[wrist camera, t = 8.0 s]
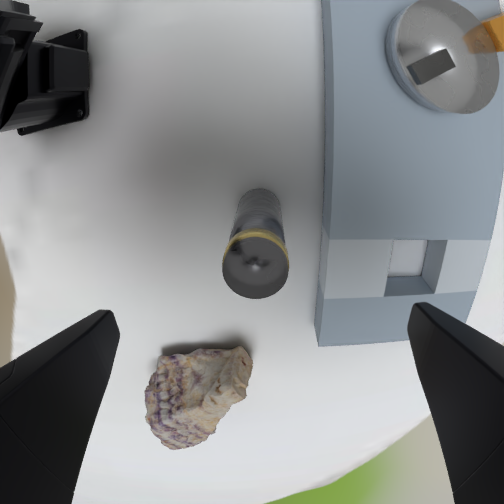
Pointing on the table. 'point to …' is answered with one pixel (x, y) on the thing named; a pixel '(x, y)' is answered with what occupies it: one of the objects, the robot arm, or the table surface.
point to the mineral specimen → (195, 393)
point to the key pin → (256, 247)
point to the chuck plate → (398, 183)
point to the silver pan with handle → (445, 55)
